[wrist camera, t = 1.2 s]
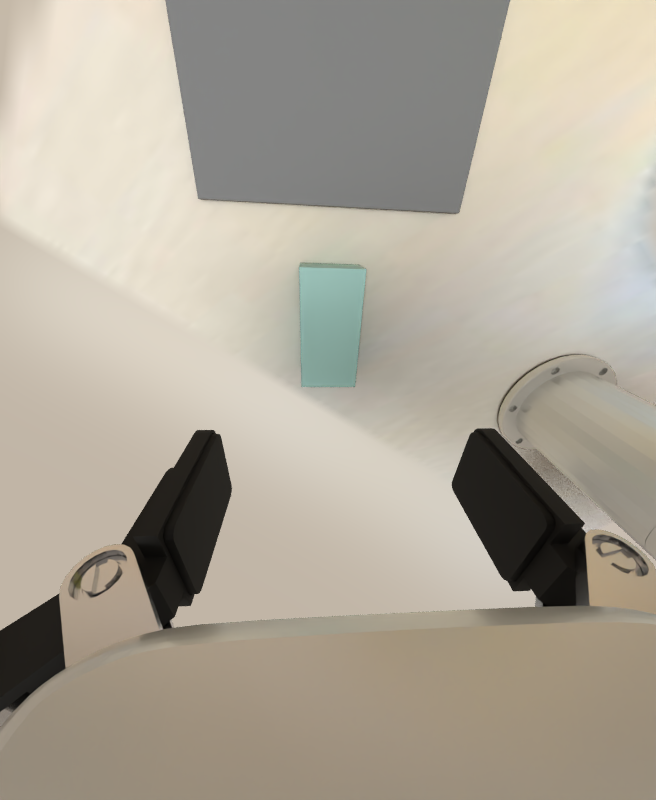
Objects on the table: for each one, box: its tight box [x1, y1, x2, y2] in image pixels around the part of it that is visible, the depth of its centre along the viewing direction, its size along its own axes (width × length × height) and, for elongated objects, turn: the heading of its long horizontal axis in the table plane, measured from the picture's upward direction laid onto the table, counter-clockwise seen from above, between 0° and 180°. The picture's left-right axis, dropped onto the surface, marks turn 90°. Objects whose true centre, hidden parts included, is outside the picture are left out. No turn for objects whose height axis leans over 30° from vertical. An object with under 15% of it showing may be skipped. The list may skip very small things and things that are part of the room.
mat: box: [165, 0, 510, 213], centre depth 18 cm, size 20×12×1 cm, turn 88°
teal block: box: [299, 263, 366, 387], centre depth 24 cm, size 5×10×4 cm, turn 178°
